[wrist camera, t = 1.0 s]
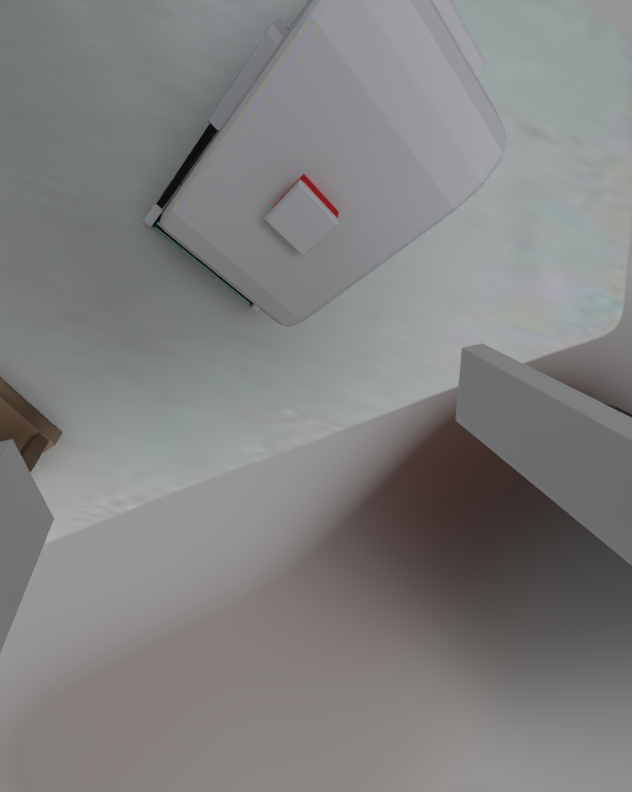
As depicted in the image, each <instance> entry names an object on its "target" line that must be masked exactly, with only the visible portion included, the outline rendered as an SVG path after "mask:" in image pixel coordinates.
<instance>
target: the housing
mask: <svg viewBox="0 0 632 792" xmlns="http://www.w3.org/2000/svg"><path fill="white" fill-rule="evenodd" d="M61 433H62V432H61V431H60V430H59V429H58V428H56V427H55V426H54V425H53V424H52V423H51V422H50V421H49V420H47V419H46V418H45V417H44V416H43V415H42V414H41V413H40V412H38V411H37V410H36V409H35V408H34V407H33V406H32V405H31V404H29V403H28V402H27V401H26V400H25V399H24V398H23V397H22V396H20V395H19V394H18V393H17V392H16V391H15V390H14V389H13V388H11V387H10V386H9V385H8V384H7V383H6V382H5V381H4V380H2V379H1V378H0V442H1V441H6V440H11V439H13V441H14V443H15V445H16V447H17V449H18V450H19V452H20V454H21V456H22V458H23V460H24V462H25V464H26V466H27V468H28V470H29V472H30V473H31V471H32V469H33V468H34V466H35V464H36V462H37V461H38V459H39V457H40V456H41V454H42V453H43V452H44V451H46V450H47V449H49V448H50V447H52V446H54V445H55V444H56V442H57V440H58V439H59V437H60V435H61Z"/></svg>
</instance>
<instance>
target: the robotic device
mask: <svg viewBox="0 0 632 792" xmlns="http://www.w3.org/2000/svg"><path fill="white" fill-rule="evenodd" d="M485 65H486V61H485V59H484V58H483V56H482V54H481V52H480V50H479V49H478V47H477V45H476V43H475V41H474V40H473V38H472V36H471V34H470V32H469V30H468V29H467V27H466V25H465V23H464V21H463V20H462V18H461V16H460V14H459V12H458V11H457V9H456V7H455V5H454V3H453V2H452V0H309V1H308V2H307V4H306V5H305V7H304V8H303V10H302V11H301V13H300V14H299V15H298V17H297V18H296V20H295V21H294V23H293V24H292V26H291V27H290V28H289V30H288V28H287V27H286V26H285V25H284V23H283V22H282V21H281V19H279V20H278V21H277V22H275V23H274V24H273V25H272V26H271V27H270V29H269V30H268V31H267V33H266V34H265V36H264V37H263V39H262V40H261V42H260V43H259V45H258V46H257V48H256V49H255V51H254V52H253V54H252V55H251V57H250V58H249V60H248V61H247V63H246V64H245V66H244V67H243V69H242V70H241V72H240V73H239V75H238V76H237V78H236V79H235V81H234V82H233V84H232V85H231V87H230V88H229V90H228V91H227V93H226V94H225V96H224V97H223V99H222V100H221V102H220V103H219V105H218V106H217V108H216V109H215V111H214V112H213V114H212V115H211V117H210V118H209V120H208V122H209V123H210V124H209V126H208V127H207V129H206V130H205V132H204V133H203V135H202V136H201V138H200V139H199V141H198V142H197V144H196V145H195V147H194V148H193V150H192V151H191V153H190V154H189V156H188V157H187V159H186V160H185V162H184V163H183V165H182V166H181V168H180V169H179V171H178V172H177V174H176V175H175V177H174V178H173V180H172V181H171V182H170V184H169V185H168V187H167V188H166V189H165V191H164V192H163V193H162V195H161V196H160V197H159V198H158V200H157V201H156V202H155V203H154V205H153V206H152V208H151V209H150V211H149V212H148V214H147V215H146V217H145V218H144V220H143V223H144V224H146V225H147V226H148V227H149V228H151V227H152V226H153V227H154V228H155V229H157V230H158V231H159V232H160V233H162V234H163V235H164V236H165V237H167V238H168V239H169V240H170V241H172V242H173V243H174V244H175V245H177V246H178V247H179V248H180V249H182V250H183V251H184V252H185V253H187V254H188V255H189V256H190V257H191V258H193V259H194V260H195V261H196V262H198V263H199V264H200V265H201V266H203V267H204V268H205V269H206V270H208V271H209V272H210V273H211V274H213V275H214V276H215V277H216V278H218V279H219V280H220V281H221V282H223V283H224V284H225V285H226V286H227V287H229V288H230V289H231V290H232V291H234V292H235V293H236V294H237V295H239V296H240V297H241V298H242V299H244V300H245V301H246V302H247V303H249V304H250V305H251V307H250V308H251V309H252V310H253V311H254V312H258V311H259V310H262V311H263V312H265V313H266V314H267V315H268V316H270V317H271V318H272V319H273V320H275V321H276V322H277V323H279V324H281V325H284V326H287V327H292V326H294V325H296V324H298V323H300V322H302V321H304V320H306V319H307V318H309V317H310V316H311V315H313V314H314V313H315V312H317V311H318V310H319V309H321V308H322V307H324V306H325V305H326V304H328V303H329V302H330V301H332V300H333V299H335V298H336V297H337V296H339V295H340V294H341V293H343V292H344V291H345V290H347V289H348V288H350V287H351V286H352V285H354V284H355V283H356V282H358V281H359V280H361V279H362V278H363V277H365V276H366V275H367V274H369V273H370V272H371V271H373V270H374V269H376V268H377V267H378V266H380V265H381V264H382V263H384V262H385V261H386V260H388V259H389V258H391V257H392V256H393V255H395V254H396V253H397V252H399V251H400V250H402V249H403V248H404V247H406V246H407V245H408V244H410V243H411V242H412V241H414V240H415V239H417V238H418V237H419V236H421V235H422V234H423V233H425V232H426V231H428V230H429V229H430V228H432V227H433V226H434V225H436V224H437V223H438V222H440V221H441V220H443V219H444V218H445V217H447V216H448V215H449V214H451V213H452V212H453V211H455V210H456V209H457V208H458V207H459V206H461V205H462V204H463V203H464V202H465V201H466V200H467V199H468V198H470V197H471V196H472V195H473V194H474V193H475V192H476V191H477V190H479V189H480V188H481V187H482V186H483V185H484V183H485V182H486V181H487V179H488V178H489V176H490V175H491V174H492V172H493V171H494V170H495V168H496V167H497V166H498V164H499V163H500V161H501V159H502V156H503V152H504V146H505V141H506V133H505V130H504V127H503V125H502V123H501V120H500V118H499V115H498V113H497V111H496V109H495V107H494V106H493V104H492V102H491V100H490V99H489V97H488V95H487V94H486V92H485V90H484V88H483V87H482V85H481V83H480V82H479V80H478V78H477V77H478V75H479V74H480V73H481V72H482V70H483V69H484V68H485ZM217 131H218V132H219V131H220V132H219V133H218V134H217V136H216V137H215V139H214V140H213V142H212V143H211V145H210V146H209V147H208V149H207V150H206V152H205V153H204V155H203V156H202V157H201V159H200V160H199V162H198V163H197V165H196V166H195V167H194V169H193V170H192V172H191V173H190V175H189V176H188V178H187V179H186V180H185V182H184V183H183V185H182V183H181V182H182V181H183V179H184V178H185V176H186V175H187V174H188V172H189V171H190V169H191V168H192V166H193V165H194V164H195V162H196V161H197V159H198V158H199V156H200V155H201V154H202V152H203V151H204V149H205V148H206V146H207V145H208V144H209V142H210V141H211V139H212V138H213V136H214V135H215V134H216V132H217ZM181 185H182V186H181ZM180 187H181V188H180ZM179 188H180V189H179ZM177 191H178V192H177ZM176 192H177V193H176ZM175 194H176V195H175ZM174 195H175V196H174ZM173 197H174V198H173ZM172 198H173V199H172ZM171 200H172V201H171ZM170 201H171V202H170ZM169 202H170V204H169ZM168 204H169V205H168ZM167 205H168V207H167ZM166 207H167V208H166ZM165 208H166V209H165ZM164 209H165V211H164ZM163 211H164V212H163ZM162 212H163V214H162Z"/></svg>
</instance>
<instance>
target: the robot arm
mask: <svg viewBox="0 0 632 792" xmlns="http://www.w3.org/2000/svg"><path fill="white" fill-rule="evenodd" d="M456 421H457V422H458V423H460V424H461V425H462V426H463V427H465V428H466V429H467V430H468V431H469V432H471V433H472V434H473V435H474V436H475V437H477V438H478V439H479V440H480V441H482V442H483V443H484V444H485V445H487V446H488V447H489V448H490V449H491V450H492V451H494V452H495V453H496V454H497V455H499V456H500V457H501V458H502V459H503V460H505V461H506V462H507V463H508V464H509V465H511V466H512V467H513V468H514V469H516V470H517V471H518V472H519V473H520V474H522V475H523V476H524V477H525V478H526V479H528V480H529V481H530V482H531V483H532V484H534V485H535V486H536V487H537V488H539V489H540V490H541V491H542V492H543V493H545V494H546V495H547V496H548V497H550V498H551V499H552V500H553V501H554V502H556V503H557V504H558V505H559V506H561V507H562V508H563V509H564V510H565V511H567V512H568V513H569V514H570V515H571V516H573V517H574V518H575V519H576V520H577V521H579V522H580V523H581V524H582V525H583V526H585V527H586V528H587V529H588V530H590V531H591V532H592V533H593V534H594V535H596V536H597V537H598V538H599V539H601V540H602V541H603V542H604V543H605V544H606V545H608V546H609V547H610V548H611V549H613V550H614V551H615V552H616V553H617V554H619V555H620V556H621V557H622V558H623V559H625V560H626V561H627V562H628V563H630V564H631V565H632V414H630V413H627V412H625V411H623V410H621V409H619V408H617V407H614V406H611V405H607V404H604V403H601V402H599V401H597V400H595V399H593V398H591V397H589V396H587V395H585V394H583V393H581V392H579V391H577V390H575V389H573V388H570V387H569V386H567V385H565V384H563V383H561V382H559V381H557V380H555V379H553V378H551V377H549V376H546V375H545V374H542V373H541V372H539V371H536V370H535V369H533V368H530V367H528V366H526V365H524V364H522V363H520V362H518V361H516V360H514V359H512V358H510V357H508V356H506V355H504V354H502V353H500V352H498V351H496V350H494V349H492V348H490V347H488V346H486V345H484V344H479V345H474V346H469V347H464V348H462V355H461V366H460V377H459V389H458V400H457V411H456ZM53 520H54V518H53V516H52V514H51V512H50V510H49V508H48V506H47V504H46V502H45V500H44V498H43V497H42V495H41V493H40V491H39V489H38V487H37V485H36V483H35V481H34V479H33V477H32V475H31V474H30V472H29V470H28V468H27V466H26V464H25V462H24V460H23V458H22V456H21V454H20V452H19V450H18V449H17V447H16V445H15V443H14V441H13V439H11V440H6V441H1V442H0V652H1V650H2V647H3V645H4V642H5V640H6V637H7V635H8V632H9V630H10V627H11V625H12V622H13V620H14V617H15V615H16V612H17V610H18V607H19V605H20V602H21V600H22V597H23V595H24V592H25V590H26V587H27V585H28V582H29V580H30V577H31V575H32V572H33V570H34V567H35V565H36V562H37V560H38V557H39V555H40V552H41V550H42V547H43V545H44V542H45V540H46V537H47V535H48V532H49V530H50V527H51V525H52V522H53Z"/></svg>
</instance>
